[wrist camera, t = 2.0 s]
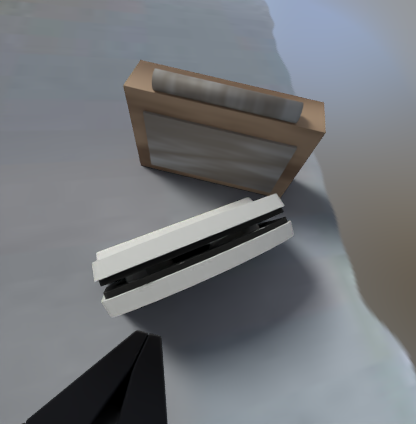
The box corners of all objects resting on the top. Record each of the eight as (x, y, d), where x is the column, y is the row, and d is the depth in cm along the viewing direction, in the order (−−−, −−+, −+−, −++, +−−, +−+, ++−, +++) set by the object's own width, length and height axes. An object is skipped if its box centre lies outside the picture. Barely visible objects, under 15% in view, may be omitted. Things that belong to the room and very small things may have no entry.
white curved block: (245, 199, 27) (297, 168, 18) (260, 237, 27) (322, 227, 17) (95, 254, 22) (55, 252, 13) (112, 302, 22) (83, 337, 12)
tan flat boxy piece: (279, 200, 28) (335, 121, 18) (140, 167, 28) (117, 70, 18) (281, 172, 30) (332, 87, 20) (152, 142, 30) (138, 42, 20)
